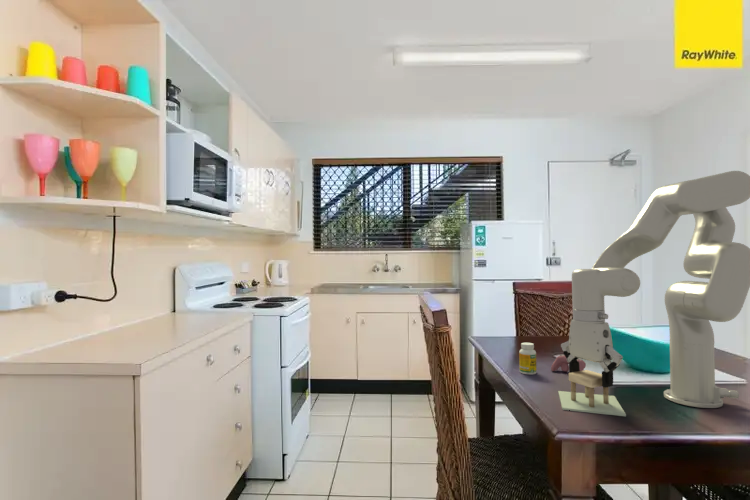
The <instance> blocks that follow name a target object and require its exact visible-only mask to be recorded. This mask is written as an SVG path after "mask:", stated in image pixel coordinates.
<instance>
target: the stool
mask: <svg viewBox="0 0 750 500" xmlns="http://www.w3.org/2000/svg"><path fill="white" fill-rule="evenodd" d="M568 381H569V382H570V392H571V400H572V401H576V393H577V384H578V385H581V386H584V393H585V397H587V398H589V407H594V394H595V388H600V387H602V390H603V391H602V395H603V403H604V404H609V396H610V395H609V393H610V391H609V387H606V388H605V387H603V386H602V373H599V372H596V371H593V370H589V369H584V370H583V371H578V372H572V373H569V372H568Z"/></svg>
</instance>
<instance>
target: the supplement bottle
mask: <svg viewBox="0 0 750 500" xmlns="http://www.w3.org/2000/svg"><path fill="white" fill-rule="evenodd" d="M534 344H535V343H532V342H521V343H520V347H521V348H520V349H519V352H518V356H519V357H518V358H519V359H518V360H519V363H518V364H519V367H518V368H519V372H520V374H522V375H528V376H529V375H532V376H533V375H536V374H537V372H538V371H537V370H538V369H537V352H536V350H535V349H534V348H535V345H534Z"/></svg>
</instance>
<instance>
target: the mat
mask: <svg viewBox="0 0 750 500" xmlns="http://www.w3.org/2000/svg"><path fill="white" fill-rule="evenodd" d="M557 392H558V397H559V401H560V405H561V409H562V411H569V410H570V411H571V412H579V413H588V414H589V413H591V414H601V415H607V416H608V415H610V416H618V417H627V414H626V412H625V410H624V409H623V408H622V405H621V404H620V403H619V401H618V400H617V397H616V396H615V395H609V404H604V403H603V394H595V393H594V407H589V398H587V397H585V392H576V401H572V400H571V391H566V390H565V391H563V390H562V391H561V390H558V391H557ZM570 411H569V412H570Z"/></svg>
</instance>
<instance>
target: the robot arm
mask: <svg viewBox="0 0 750 500" xmlns="http://www.w3.org/2000/svg"><path fill="white" fill-rule="evenodd" d="M749 199H750V175H749V174H748V173H746V172H744V171H741V170H731V171H726V172H725V171H724V172H721V173H717V174H716V173H715V174H711V175H707V176H702V177H699V178H695V179H688V180H684V181H680V182H674V183H671V184H665V185H663V186H660V187H658V188H656V189H655V190H654V191H653V192H652V193H651V195H650V196H649V197H648V199H647V201H645V204H644V205H643V207H642V208H641V210H640V211H639V213H638V214H637V216H636V217H635V219H634V220H633V221H632V224H631V225H630V226H629V228H628V229H627V230H626V231H625V232H623V233H622V234H621V235H619V237H618V238H617V239H615V240H614V241H613V242H612V243H610V245H608V246H607V247H605V249H604V250H603V252H601V254H600V255H599V256H598V258H597V259H596V261H595V262H594V264H593V266H592V267H591V268H577V269H574V270H573V271H572V273H571V299H572V319H571V320H570V321H571V322H570V325H569V333H568V335H569V336H568V340H567V341H565V342H562V343H561V344H560V348H561V349H562V351H563V352H562V353H563V355H565V357H566V358H567V362H569V364H568V366H569V372H568V373H572V372H578V371H580V368H579V362H578V361H577V360H578V359H579V358H580V359H581V360H585V361H590V362H592V363H593V362H594V363H599V365H600V366H601V368H602V369H603V370H602V371H601V374H602V386H601V387H602V388H603V387H605V388H606V387H608V388H609V387H613V386H614V371H616V369H617V368H618V367H620V363H622V360H623V358H624V357H623V355H622V354H620V353H619V352H618V351H617V350H615V349H614V347H613V339H612V332H611V328H610V325H609V322H606V320H608V319H609V314H608V313H606V310H605V308H606V307H605V296H607V297H608V296H609V297H611V296H612V297H618V298H619V297H621V298H624V297H631V296H633V295H634V294H636V293H637V292H638V291H639V289H640V288H641V280H640V277H639V276H638V274H637V273H636V272H635V271H634V270H631V269H630V268H629V269H628V268H626V266H627V265H628V264H630V263H631V262H632V261H633V260H635V259H637V258H639V257H641V256H643V255H645V254H648V253H650V252H652V251H654V250H656V249H658V248H659V247H660V246H661V245H662V244H663V243H665V240H666V238H667V237H668V235H669V234H670V232H671V231H672V229H673V228H674V226H675V224H676V223H677V222H678V220H679V218H680V217H681V216H687V215H693V217H694V222H695V225H694V230H693V233H692V235H691V239H690V242H689V245H688V247H687V250H686V253H685V256H684V259H683V269H684V272H685V273H687V275H689V276H692V277H694V278H699V279H706V280H707V279H708V281H707V282H706V281H695V280H694V281H693V280H680V281H676V282H675V283H673V284H671V285H670V286H669V287H668V288H667V289H666V291H665V292H664V306H665V309H666V313H667V319H668V327H669V370H670V371H669V375H670V376H669V377H670V378H669V379H670V380H669V381H670V382H669V383H670V388H669V389H668V388H667V389H665V390H664V391H663V397H664V398H665V399H667V400H668V401H671V402H673V403H675V404H680V405H683V406H688V407H693V408H694V407H695V408H701V409H717V408H721V407H723V406H724V400H723V399H724V398H730V399H739V398H740V393H739V391H738V390H736V389H735V390H734V389H728V388H725V387H719V386H718V385H717V384H716V377H715V376H716V372H715V371H716V369H715V368H716V367H715V333H714V330H713V327H712V325H711V322H716V323H717V322H718V323H726V322H729V321H732V320H733V319H735V318H736V317H737V316H738V315H739V314H740V313H741V311H742V308H743V307H744V304H745V301H746V298H747V296H748V293H749V291H750V247H749V246H747V245H746V244H743V243H740V242H736V241H735V242H734V241H733V239H734V237H735V232H736V223H735V219H734V218H733V216H732V214H731V213H730V211H729V209H727V208H728V207H733V206H737V205H741V204H743V203H745V202H747V201H748V200H749ZM710 321H711V322H710Z"/></svg>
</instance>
